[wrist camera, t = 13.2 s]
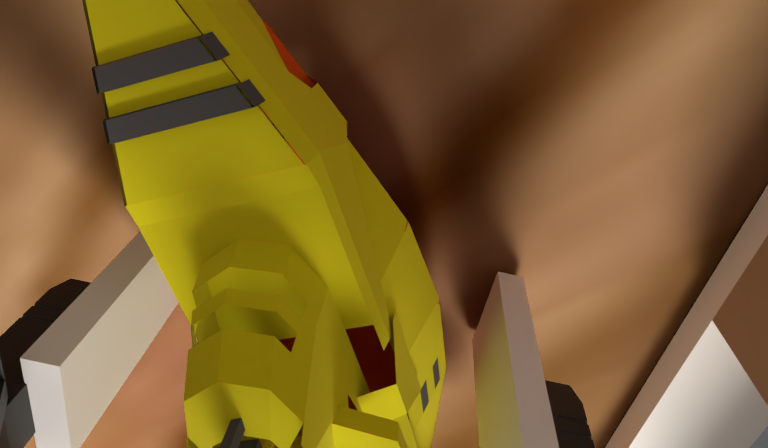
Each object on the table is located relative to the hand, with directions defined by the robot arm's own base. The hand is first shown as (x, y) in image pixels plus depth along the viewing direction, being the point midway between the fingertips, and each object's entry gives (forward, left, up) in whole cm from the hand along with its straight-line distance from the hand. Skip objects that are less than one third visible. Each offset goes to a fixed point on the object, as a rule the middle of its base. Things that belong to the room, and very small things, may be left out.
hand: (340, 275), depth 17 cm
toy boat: (0, 0, -1) cm, 1 cm away
